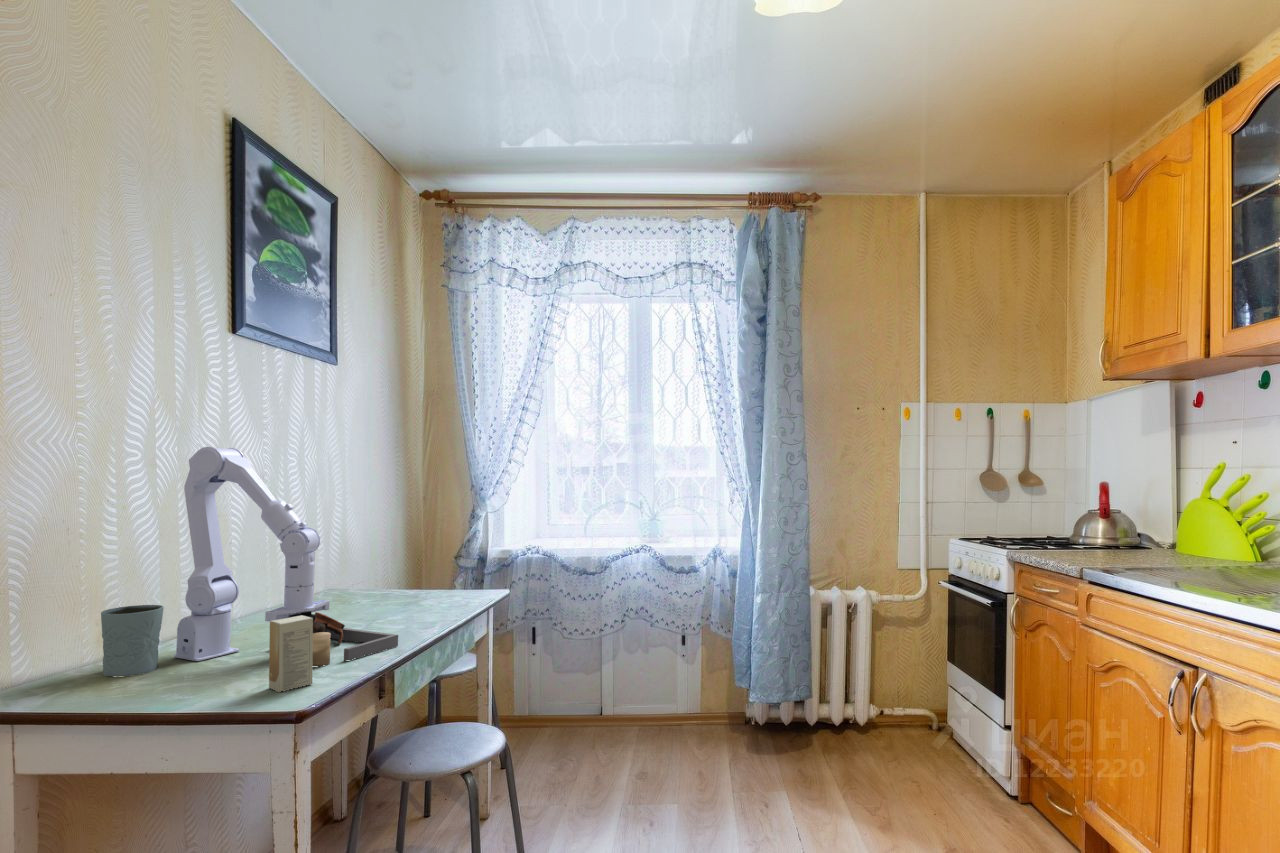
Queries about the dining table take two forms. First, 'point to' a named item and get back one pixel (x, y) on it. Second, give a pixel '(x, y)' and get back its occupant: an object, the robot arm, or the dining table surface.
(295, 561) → the robot arm
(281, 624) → the skincare box
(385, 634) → the frame
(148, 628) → the grey green plant pot
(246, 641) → the dining table surface
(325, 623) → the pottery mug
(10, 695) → the dining table surface
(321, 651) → the oak dowel
